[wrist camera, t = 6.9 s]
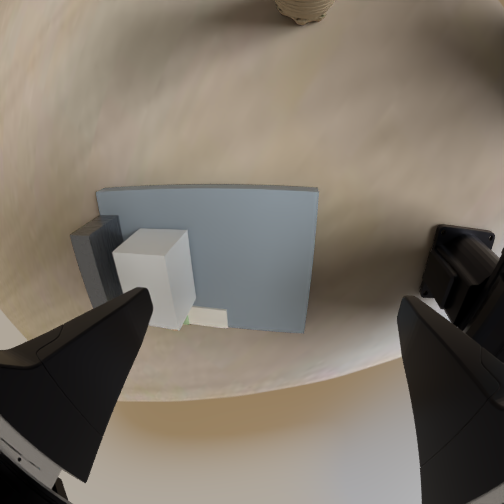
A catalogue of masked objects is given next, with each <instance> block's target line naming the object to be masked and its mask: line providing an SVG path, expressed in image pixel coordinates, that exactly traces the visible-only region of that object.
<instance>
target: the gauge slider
mask: <svg viewBox="0 0 504 504" xmlns="http://www.w3.org/2000/svg"><path fill="white" fill-rule="evenodd" d="M112 254H113V258H114V262H115V266H116V269H117V273H118V277H119V280H120V284H121V287H122V291H123V294H124V293H126V292H128V291H130V290H132V289H134V288H136V287H145V288H147V289H148V290H149V293H150V297H151V300H152V303H153V313H152V316H151V319H150V322H149V325H150V326H155V327H161V328H167V329H172V330H176V331H178V330H179V331H180V329H181V327H182V325H183V323H184V321H185V319H186V317H187V315H188V313H189V311H190V309H191V307H192V305H193V303H194V301H195V300H196V293H195V286H194V279H193V272H192V264H191V256H190V248H189V239H188V230H177V229H147V228H140V229H139V230H137V231H136V232H135V233H134V234H133V235H131V236H130V237H129V238H128V239H127V240H125V241H124V242H123V243H122V244H121V245H120V246H118V247H117V248H116V249H115V250H114V251H113V252H112Z"/></svg>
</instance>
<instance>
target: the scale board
mask: <svg viewBox="0 0 504 504" xmlns="http://www.w3.org/2000/svg"><path fill="white" fill-rule="evenodd" d="M96 196H97V202H98V207H99V212H100V215H118V216H119V221H120V226H121V232H122V237H123V241H125V240H127V239H128V238H129V237H130V236H131V235H133V234H134V233H135V232H136V231H137V230H139V229H140V228H147V229H177V230H188V239H189V248H190V256H191V264H192V272H193V279H194V286H195V293H196V300H195V301H194V303H193V305H192V307H191V309H190V311H189V313H188V315H187V317H186V319H185V321H184V323H183V324H187V325H189V324H195V325H202V326H210V327H218V328H227V329H228V327H232V328H242V329H252V330H263V331H275V332H289V333H304V329H305V322H306V315H307V307H308V299H309V291H310V283H311V274H312V265H313V256H314V246H315V235H316V223H317V210H318V196H319V191H318V188H314V187H298V186H276V185H243V184H182V185H149V186H128V187H112V188H103V189H101V190H99V191H97V192H96Z"/></svg>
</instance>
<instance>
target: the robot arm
mask: <svg viewBox="0 0 504 504" xmlns="http://www.w3.org/2000/svg"><path fill="white" fill-rule="evenodd" d="M442 230H444V232H443V233H441V232H442ZM490 236H491V237H490ZM489 237H490V238H489ZM494 239H495V235H494V233H493V232H491V231H487V230H480V229H473V228H466V227H459V226H451V225H440V226H439V227H438V228H437V230H436V235H435V239H434V243H433V247H432V250H431V251H430V254H429V257H428V261H427V264H426V268H425V271H424V274H423V281H422V284H421V287H420V290H419V293H420V295H421V297H423V298H435V300H436V302H437V303H438V305H439V307H440V309H444V310H445V312H446V314H447V316H448V318H449V319H450V321H451V322H450V321H448V320H447V319H445V318H444V317H443V316H441V315H440V314H439V313H437V312H436V311H435V310H433V309H432V308H431V307H429V306H428V305H426V304H425V303H424V302H422V301H421V300H419V299H418V298H417V297H415V296H404V297H403V299H402V301H401V305H400V308H399V312H398V315H397V324H398V331H399V338H400V345H401V353H402V359H403V364H404V369H405V373H406V378H407V382H408V387H409V392H410V398H411V403H412V409H413V414H414V421H415V428H416V435H417V442H418V451H419V460H420V467H421V468H420V475H421V491H422V504H504V248H503V250H502V252H501V253H502V255H501V257H500V258H499V257H498V256H497V255H496V254H495V253H494V252H493V251H491V249H492V246H493V243H494ZM426 290H427V291H426ZM424 291H426V292H425V293H424ZM152 313H153V303H152V300H151V297H150V293H149V290H148V289H147V288H145V287H136V288H134V289H132V290H130V291H128V292H126V293H124V294H122V295H120V296H118V297H116V298H114V299H112V300H110V301H108V302H106V303H104V304H102V305H100V306H98V307H96V308H94V309H92V310H90V311H88V312H86V313H84V314H82V315H80V316H78V317H76V318H74V319H72V320H70V321H69V322H67V323H65V324H64V325H61V326H59V327H57V328H55V329H53V330H51V331H49V332H47V333H45V334H43V335H41V336H38V337H36V338H34V339H32V340H29V341H27V342H25V343H23V344H21V345H18V346H16V347H14V348H11V349H8V350H0V504H72V503H71V502H69V501H68V498H67V496H66V492H65V490H64V486H63V483H62V480H61V479H60V478H58V476H59V474H60V472H61V470H64V471H65V472H67V473H69V474H70V475H72V476H73V477H75V478H77V479H79V480H81V481H82V482H84V483H86V482H87V480H88V477H89V474H90V471H91V468H92V465H93V462H94V460H95V457H96V454H97V451H98V449H99V446H100V443H101V440H102V438H103V437H102V436H103V435H104V432H105V430H106V427H107V425H108V422H109V419H110V417H111V414H112V412H113V409H114V407H115V404H116V402H117V400H118V397H119V395H120V393H121V390H122V388H123V385H124V383H125V381H126V379H127V376H128V374H129V372H130V369H131V367H132V365H133V363H134V360H135V358H136V356H137V354H138V352H139V349H140V347H141V345H142V342H143V339H144V336H145V333H146V330H147V327H148V325H149V322H150V319H151V316H152Z"/></svg>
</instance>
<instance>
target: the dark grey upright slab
mask: <svg viewBox="0 0 504 504" xmlns="http://www.w3.org/2000/svg"><path fill="white" fill-rule="evenodd" d="M70 237H71V241H72V245H73V249H74V252H75V256H76V259H77V262H78V266H79V269H80V272H81V275H82V278H83V281H84V284H85V287H86V290H87V293H88V295H89V298H90V301H91V304H92V306H93V309H94V308H96V307H98V306H100V305H102V304H104V303H106V302H108V301H110V300H112V299H114V298H116V297H118V296H120V295H122V294H123V291H122V287H121V284H120V280H119V277H118V273H117V269H116V266H115V262H114V258H113V254H112V252H113V251H114V250H115V249H116V248H117V247H118V246H120V245H121V244H122V243H123V242H124V241H123V237H122V232H121V226H120V221H119V216H118V215H100V216H98V217H96V218H95V219H93V220H92V221H90V222H89V223H87V224H86V225H84V226H83V227H81V228H80V229H78V230H77V231H75V232H74V233H72V234H71V235H70Z"/></svg>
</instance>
